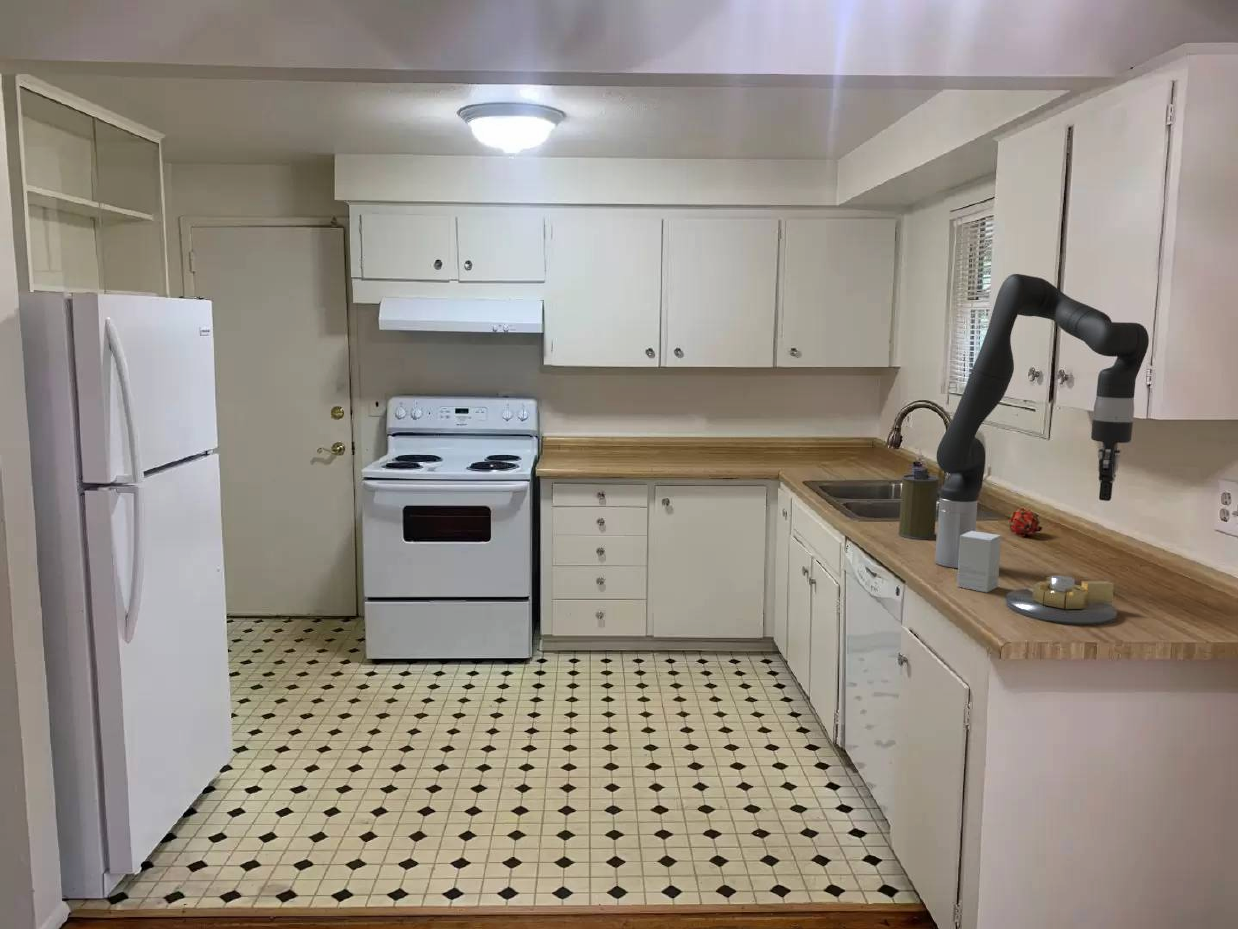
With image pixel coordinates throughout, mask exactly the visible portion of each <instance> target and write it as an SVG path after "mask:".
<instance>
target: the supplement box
mask: <svg viewBox="0 0 1238 929" xmlns="http://www.w3.org/2000/svg"><path fill="white" fill-rule="evenodd" d="M1001 541H1002V535H1001V534H994V533H990V532H982V531H977V530H975V531H970V532H967V533H965V534H963V535H960V547H959V562H958V568H957V583H956V587H957V586H958V587H957V588H961V587H962V588H961V589H967V590H971V589H972V591H977V592H982V593H989V592H991V591H993V590H994V589H996V588H998V587H999V574H1000V572H999V571H1000V557H1001V543H1002V542H1001Z"/></svg>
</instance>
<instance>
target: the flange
mask: <svg viewBox="0 0 1238 929" xmlns="http://www.w3.org/2000/svg"><path fill="white" fill-rule="evenodd" d="M1049 577H1050V588H1049V590H1052V591H1058V592H1063V593H1068V588H1074V584H1075V581H1076V579H1075V578H1073V577H1071V576H1067V575H1051V576H1049ZM1032 596H1033V587H1032V588H1021V589H1016V590H1012V591H1009V592H1008V593H1006V595H1005V606H1006V607H1007V608H1008V607H1009V608H1008V609H1010V610H1011V611H1012V612H1015V613H1017V614H1019V615H1021V616H1025V617H1028V618H1032V619H1035V620H1038V621H1042V622H1043V621H1044V622H1047V623H1048V622H1049V623H1054V624H1059V625H1061V624H1062V625H1069V626H1070V625H1071V626H1100V625H1101V626H1102V625H1107V624H1111V623H1113V622H1115V621H1116V620H1117V618H1118V617H1117V615H1118V609H1117V607H1116V606H1115V605H1113V604H1112V603H1111V602H1102V603H1089V605H1088V606H1087V607H1086V608H1083V609H1065V608H1064V609H1063V608H1057V607H1052V606H1047V605H1044V604H1041V603H1039V602H1037V601H1035V600H1033V599H1032Z"/></svg>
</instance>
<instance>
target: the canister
mask: <svg viewBox="0 0 1238 929" xmlns="http://www.w3.org/2000/svg"><path fill="white" fill-rule="evenodd" d="M913 472H914V473H912V474H903V475H901V479H902V480H901V494H900V495H901V497H900V508H899V509H900V510H899V523H898V524H899V525H898V532H897V535H898V536H900V537H903V538H906V539H912V540H932V539H934V538H935V537H936V535H935V532H936V522H937V519H936V518H937V504H938V492H939V491H938V490H939V481H940V478H939V477H937V476H933V475H930V472H929V471H928V468H926V467H916V468H914V471H913Z"/></svg>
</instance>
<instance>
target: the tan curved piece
mask: <svg viewBox="0 0 1238 929" xmlns="http://www.w3.org/2000/svg"><path fill="white" fill-rule="evenodd" d="M1050 577H1051V576H1047V577H1045V581H1038V582H1036V583H1035V584H1033V586H1032V588H1033V596H1032V599H1033V600H1035V601H1037V602H1039V603H1041V604H1044V605H1047V606H1052V607H1057V608H1063V609H1064V608H1065V609H1083V608H1086V607H1087V606H1088V605H1089V603H1102V602H1108V603H1112V602H1113V595H1114V587H1115V586H1114V583H1113V582H1111V581H1109V580H1089V581H1088V580H1087V581H1086V580H1084V581H1083V580H1082V581H1081V585H1079V584H1075V583H1074V588H1068V593H1063V592H1058V591H1052V590H1049V588H1050Z"/></svg>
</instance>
